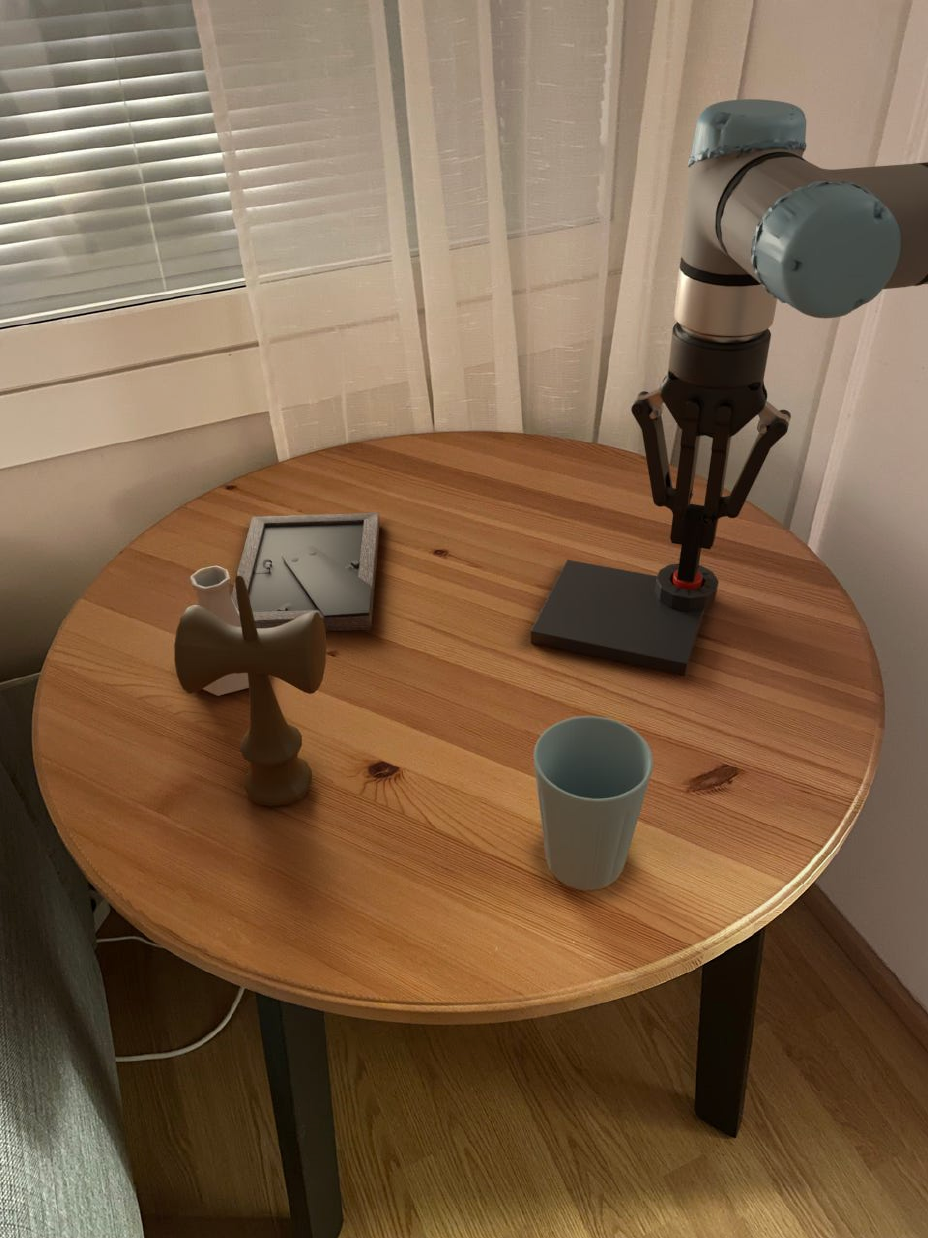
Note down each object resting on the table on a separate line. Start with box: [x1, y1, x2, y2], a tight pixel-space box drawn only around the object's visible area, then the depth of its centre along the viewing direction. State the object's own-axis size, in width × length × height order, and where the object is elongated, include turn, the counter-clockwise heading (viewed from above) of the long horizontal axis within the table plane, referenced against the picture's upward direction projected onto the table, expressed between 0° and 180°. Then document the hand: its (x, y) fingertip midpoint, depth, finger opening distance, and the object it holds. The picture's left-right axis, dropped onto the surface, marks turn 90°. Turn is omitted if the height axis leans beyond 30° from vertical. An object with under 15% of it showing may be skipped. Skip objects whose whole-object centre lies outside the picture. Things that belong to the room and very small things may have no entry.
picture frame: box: [230, 512, 380, 632], centre depth 99 cm, size 13×2×18 cm
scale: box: [530, 559, 719, 676], centre depth 92 cm, size 15×13×3 cm
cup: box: [533, 715, 654, 891], centre depth 68 cm, size 8×8×10 cm
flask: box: [189, 565, 249, 697], centre depth 86 cm, size 7×7×10 cm
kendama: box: [173, 574, 327, 807], centre depth 71 cm, size 6×10×20 cm, turn 86°
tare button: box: [672, 570, 702, 590], centre depth 93 cm, size 3×3×2 cm
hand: (687, 572), depth 92 cm, fingers closed
